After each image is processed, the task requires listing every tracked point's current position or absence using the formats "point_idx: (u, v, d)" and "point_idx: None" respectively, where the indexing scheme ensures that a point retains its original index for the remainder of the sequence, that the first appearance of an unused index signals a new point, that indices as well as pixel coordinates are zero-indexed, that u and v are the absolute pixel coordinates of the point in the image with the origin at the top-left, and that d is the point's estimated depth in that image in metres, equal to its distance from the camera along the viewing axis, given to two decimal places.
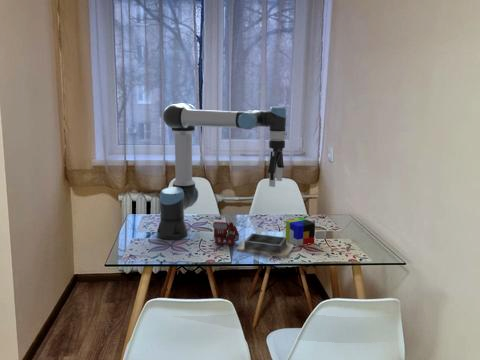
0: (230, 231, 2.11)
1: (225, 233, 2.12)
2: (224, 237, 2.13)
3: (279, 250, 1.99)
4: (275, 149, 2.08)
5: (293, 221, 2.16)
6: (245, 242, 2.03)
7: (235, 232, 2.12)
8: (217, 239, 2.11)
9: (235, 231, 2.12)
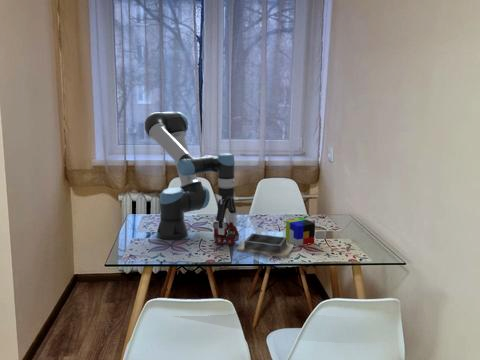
0: (230, 231, 2.11)
1: (225, 233, 2.12)
2: (224, 237, 2.13)
3: (279, 250, 1.99)
4: (224, 197, 2.05)
5: (293, 221, 2.16)
6: (245, 242, 2.03)
7: (235, 232, 2.12)
8: (217, 239, 2.11)
9: (235, 231, 2.12)
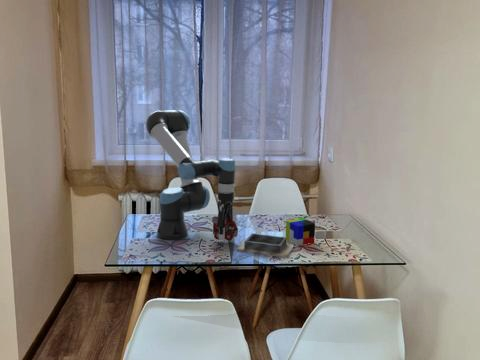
0: (229, 226, 2.11)
1: None
2: None
3: (279, 250, 1.99)
4: (223, 202, 2.06)
5: (293, 221, 2.16)
6: (245, 242, 2.03)
7: (234, 227, 2.12)
8: (216, 234, 2.11)
9: (234, 226, 2.12)
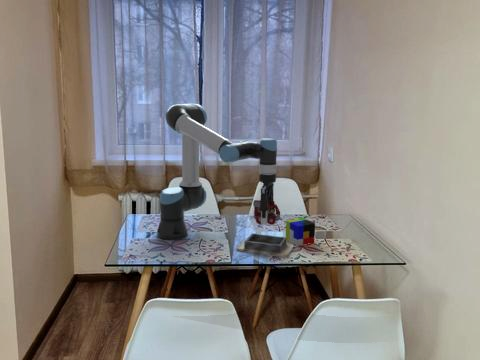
0: (271, 210, 2.02)
1: None
2: None
3: (279, 250, 1.99)
4: (265, 183, 1.97)
5: (293, 221, 2.16)
6: (245, 242, 2.03)
7: (276, 211, 2.02)
8: (258, 218, 2.01)
9: (277, 210, 2.02)
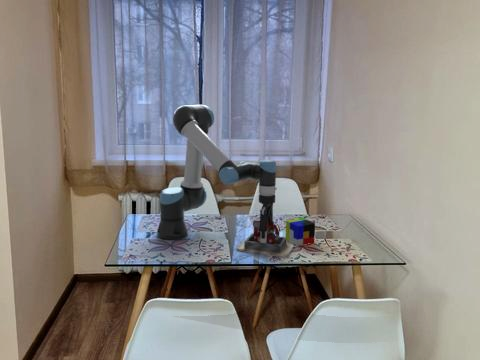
0: (271, 230, 2.04)
1: None
2: None
3: (279, 250, 1.99)
4: (265, 204, 1.99)
5: (293, 221, 2.16)
6: (245, 242, 2.03)
7: (276, 231, 2.04)
8: (257, 238, 2.03)
9: (276, 230, 2.04)
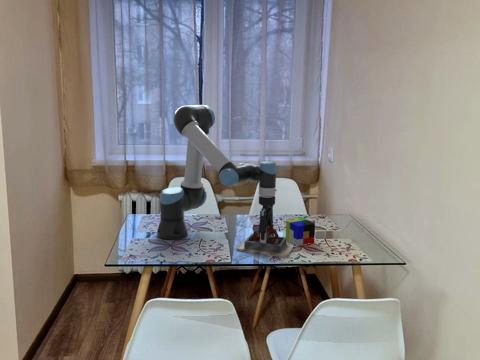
0: (270, 234, 2.04)
1: None
2: None
3: (279, 250, 1.99)
4: (265, 206, 1.99)
5: (293, 221, 2.16)
6: (245, 242, 2.03)
7: (275, 235, 2.05)
8: None
9: (275, 234, 2.05)
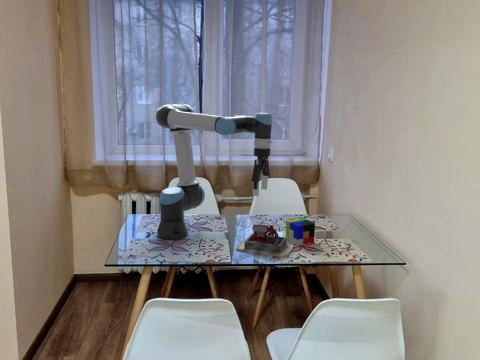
0: (270, 234, 2.04)
1: (265, 236, 2.05)
2: (264, 240, 2.06)
3: (279, 250, 1.99)
4: (259, 157, 2.00)
5: (293, 221, 2.16)
6: (245, 242, 2.03)
7: (275, 235, 2.05)
8: None
9: (275, 234, 2.05)
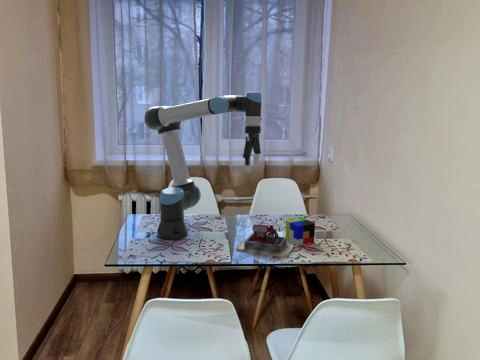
0: (270, 234, 2.04)
1: (265, 236, 2.05)
2: (264, 240, 2.06)
3: (279, 250, 1.99)
4: (250, 134, 2.07)
5: (293, 221, 2.16)
6: (245, 242, 2.03)
7: (275, 235, 2.05)
8: None
9: (275, 234, 2.05)
